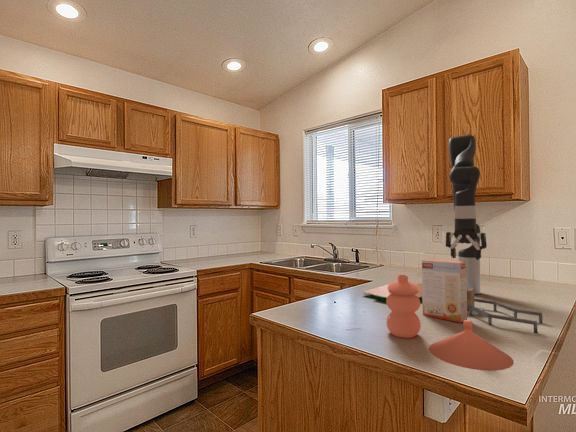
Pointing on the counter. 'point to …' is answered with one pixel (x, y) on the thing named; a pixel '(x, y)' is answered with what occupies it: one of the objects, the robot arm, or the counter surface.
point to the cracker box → (444, 289)
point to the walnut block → (470, 297)
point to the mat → (475, 312)
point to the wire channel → (506, 316)
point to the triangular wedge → (385, 293)
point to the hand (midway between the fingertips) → (465, 258)
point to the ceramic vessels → (453, 349)
